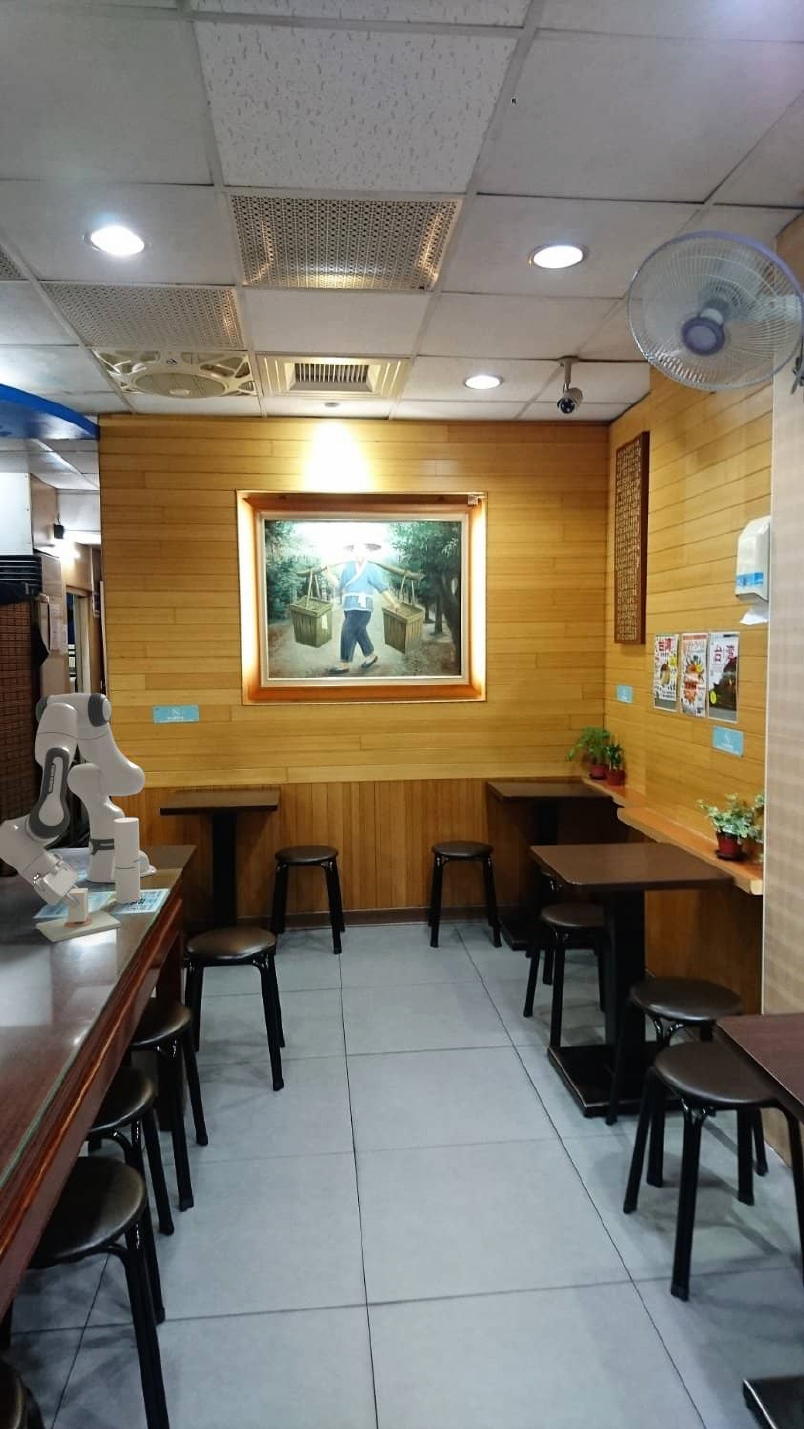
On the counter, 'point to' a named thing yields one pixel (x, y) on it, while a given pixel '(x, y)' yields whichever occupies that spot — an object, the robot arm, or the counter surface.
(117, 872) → the cylindrical container
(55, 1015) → the counter surface
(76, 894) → the square block
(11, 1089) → the counter surface
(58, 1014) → the counter surface
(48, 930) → the base plate
